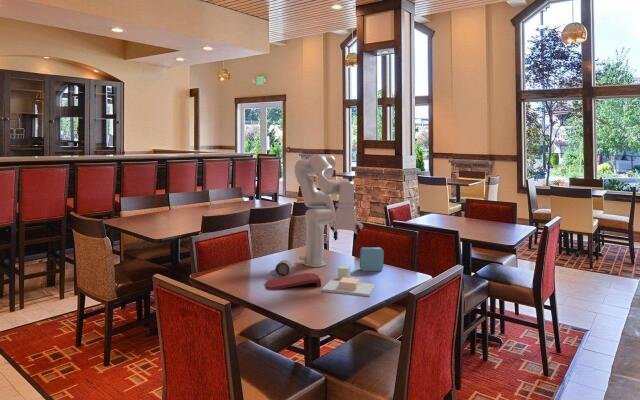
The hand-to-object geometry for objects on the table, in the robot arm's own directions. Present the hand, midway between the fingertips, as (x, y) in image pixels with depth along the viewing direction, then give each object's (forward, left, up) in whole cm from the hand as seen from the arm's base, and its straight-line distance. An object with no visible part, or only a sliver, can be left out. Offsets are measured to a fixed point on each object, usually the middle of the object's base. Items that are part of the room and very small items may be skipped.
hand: (345, 240), depth 228 cm
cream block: (0, 0, -20) cm, 20 cm away
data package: (+10, +22, -20) cm, 31 cm away
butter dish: (+6, -15, -20) cm, 25 cm away
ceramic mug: (-32, -5, -20) cm, 38 cm away
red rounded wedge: (-20, -18, -20) cm, 34 cm away
